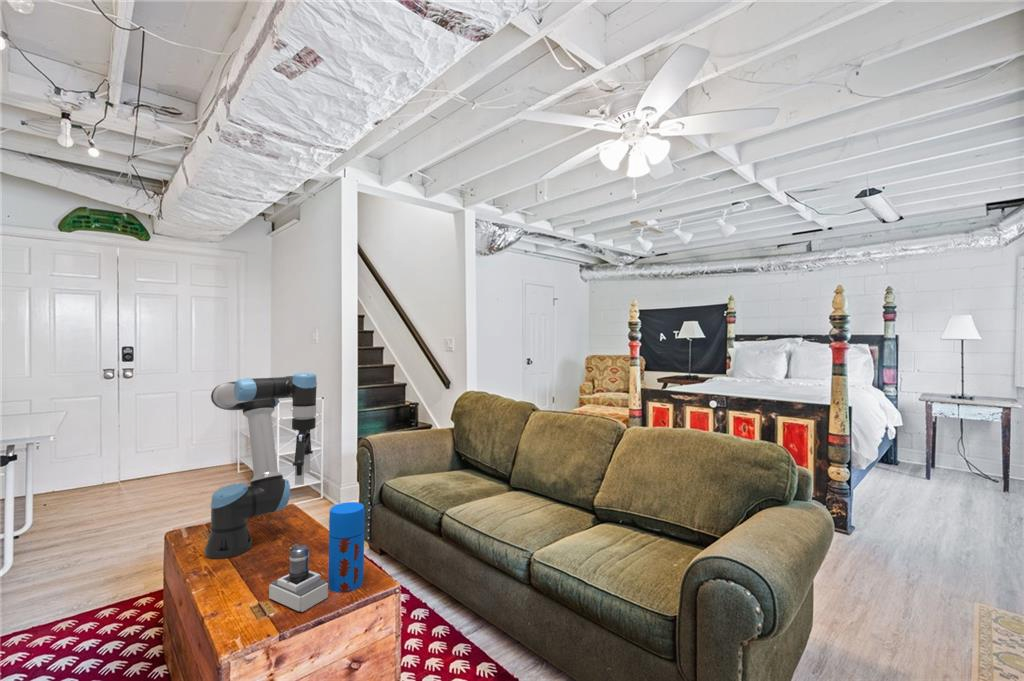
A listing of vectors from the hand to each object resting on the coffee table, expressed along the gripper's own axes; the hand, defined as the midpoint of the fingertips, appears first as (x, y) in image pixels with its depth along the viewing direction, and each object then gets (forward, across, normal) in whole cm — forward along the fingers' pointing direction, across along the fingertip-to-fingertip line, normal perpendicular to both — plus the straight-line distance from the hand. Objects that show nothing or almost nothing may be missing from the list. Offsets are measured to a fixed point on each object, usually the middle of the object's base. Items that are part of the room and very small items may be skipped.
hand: (302, 478), depth 161 cm
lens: (+26, +20, +2) cm, 33 cm away
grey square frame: (+31, +20, +3) cm, 37 cm away
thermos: (+31, +15, +16) cm, 38 cm away
